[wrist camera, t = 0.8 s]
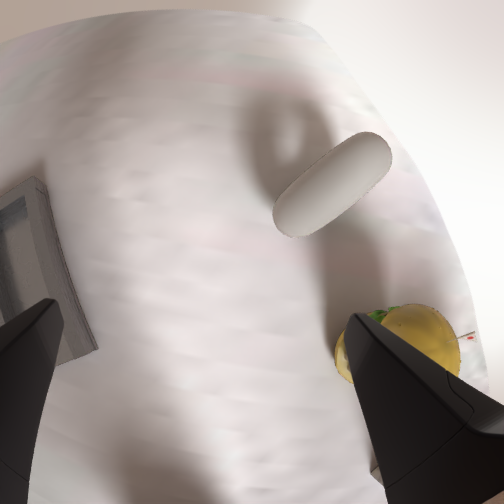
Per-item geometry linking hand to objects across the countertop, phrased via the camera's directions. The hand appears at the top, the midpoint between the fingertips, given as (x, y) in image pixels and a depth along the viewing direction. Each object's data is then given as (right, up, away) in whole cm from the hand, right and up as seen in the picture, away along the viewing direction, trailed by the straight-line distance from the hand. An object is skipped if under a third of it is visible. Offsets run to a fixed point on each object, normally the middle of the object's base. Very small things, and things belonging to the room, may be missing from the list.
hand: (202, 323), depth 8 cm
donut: (+6, +6, +17) cm, 19 cm away
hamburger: (+11, -6, +16) cm, 20 cm away
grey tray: (-17, 0, +12) cm, 21 cm away
